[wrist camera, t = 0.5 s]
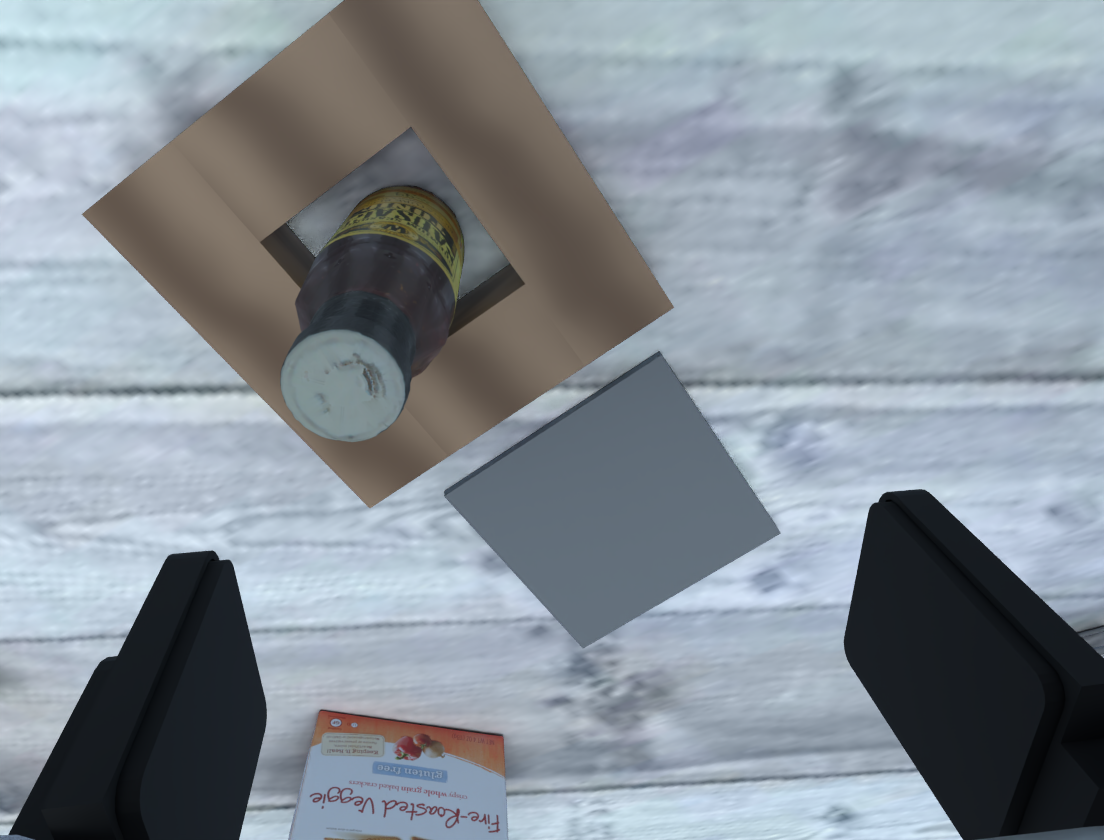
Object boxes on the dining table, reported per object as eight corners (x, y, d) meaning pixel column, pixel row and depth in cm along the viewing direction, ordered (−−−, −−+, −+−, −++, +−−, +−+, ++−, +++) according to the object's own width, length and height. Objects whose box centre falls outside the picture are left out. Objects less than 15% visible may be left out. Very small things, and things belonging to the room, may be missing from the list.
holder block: (436, -61, 37) (432, -72, 33) (653, 279, 45) (674, 307, 41) (123, 192, 41) (81, 214, 36) (378, 464, 49) (369, 508, 45)
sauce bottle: (476, 198, 43) (483, 325, 25) (449, 306, 45) (438, 492, 27) (353, 163, 41) (267, 272, 23) (332, 277, 44) (240, 453, 26)
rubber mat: (659, 351, 47) (661, 355, 47) (777, 528, 54) (780, 533, 54) (444, 491, 50) (444, 496, 50) (582, 642, 57) (582, 648, 57)
